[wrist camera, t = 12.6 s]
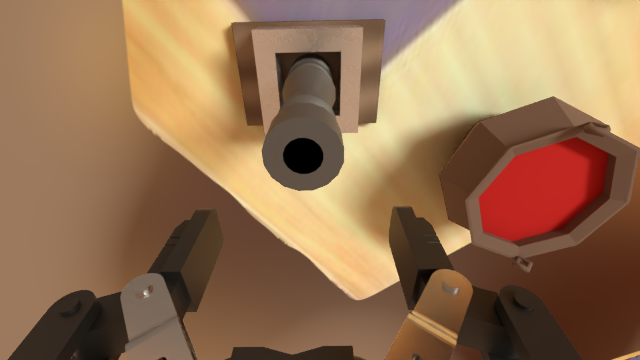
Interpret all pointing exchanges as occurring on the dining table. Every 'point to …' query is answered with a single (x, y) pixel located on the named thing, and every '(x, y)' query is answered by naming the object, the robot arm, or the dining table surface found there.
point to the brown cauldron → (537, 179)
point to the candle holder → (305, 129)
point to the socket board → (369, 62)
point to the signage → (634, 358)
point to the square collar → (309, 40)
